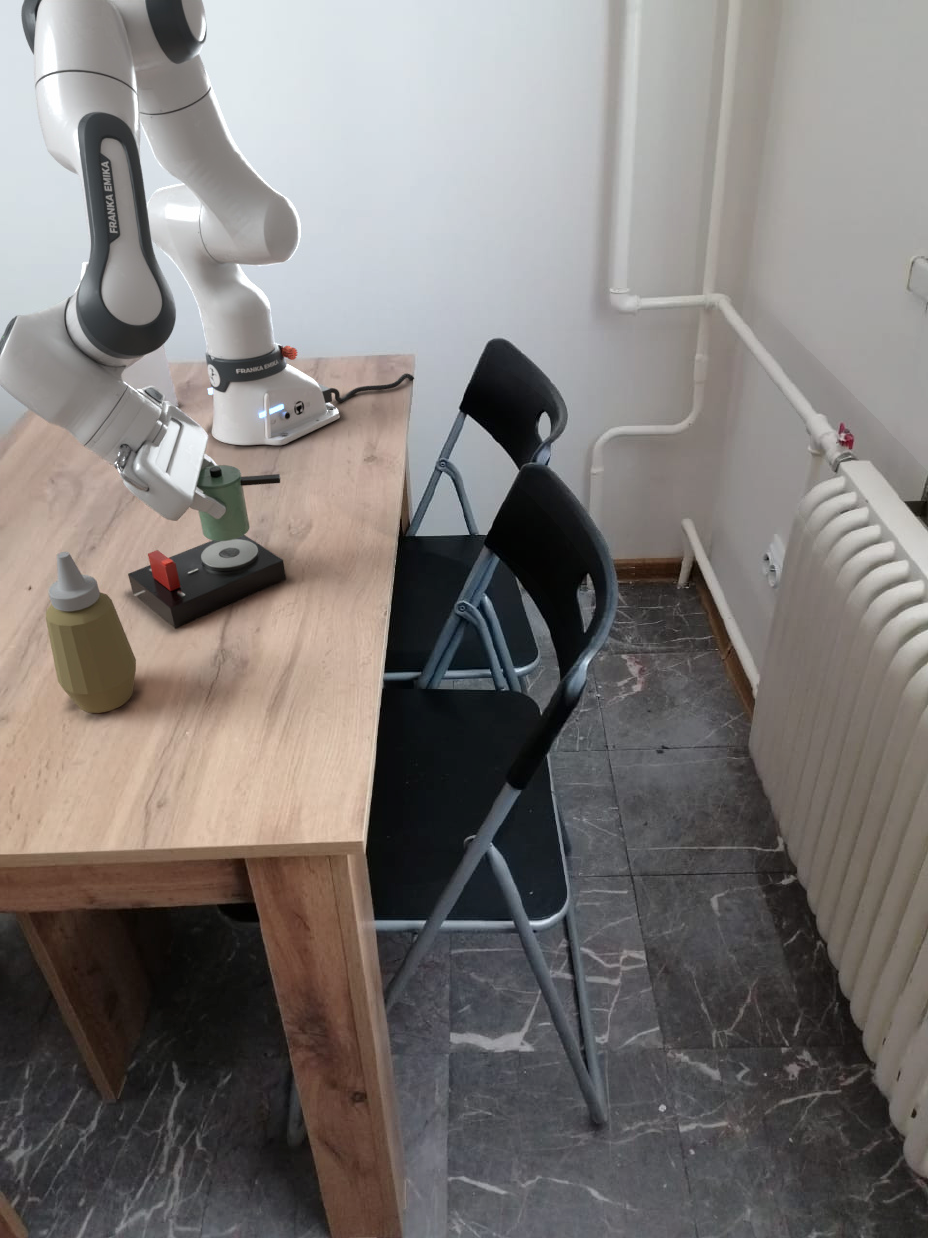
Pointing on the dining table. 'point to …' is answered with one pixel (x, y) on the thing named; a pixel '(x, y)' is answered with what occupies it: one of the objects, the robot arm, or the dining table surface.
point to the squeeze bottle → (88, 641)
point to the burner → (229, 555)
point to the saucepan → (228, 500)
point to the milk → (148, 369)
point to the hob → (205, 584)
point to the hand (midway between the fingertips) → (225, 498)
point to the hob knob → (164, 570)
